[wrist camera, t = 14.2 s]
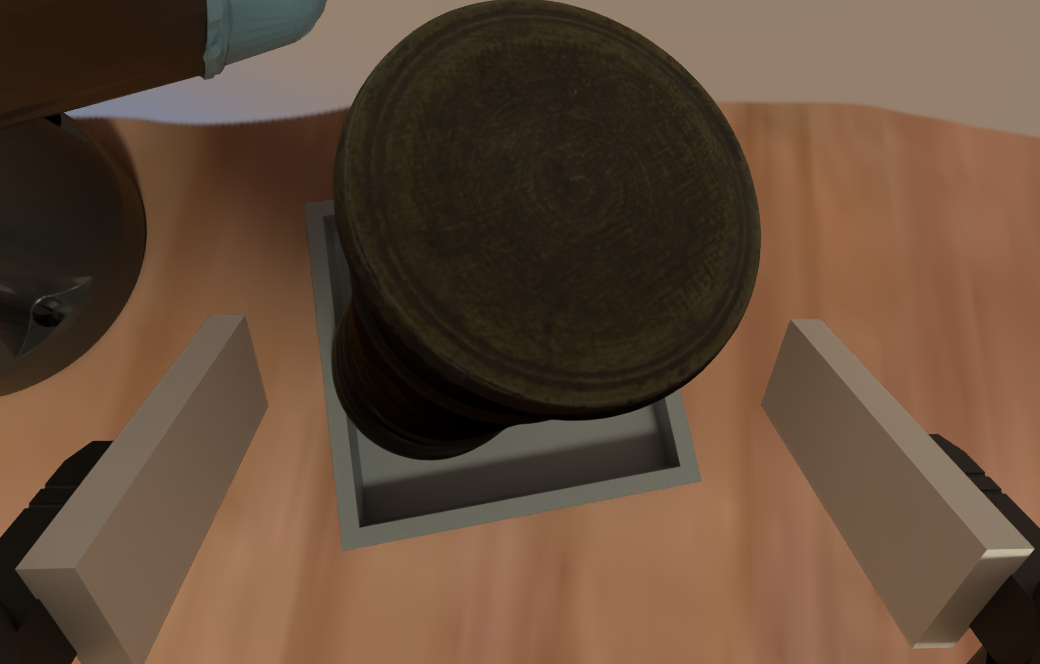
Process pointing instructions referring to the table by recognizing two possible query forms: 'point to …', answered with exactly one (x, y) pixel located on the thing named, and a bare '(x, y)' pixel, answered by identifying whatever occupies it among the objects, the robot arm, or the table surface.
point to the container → (532, 228)
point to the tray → (496, 464)
